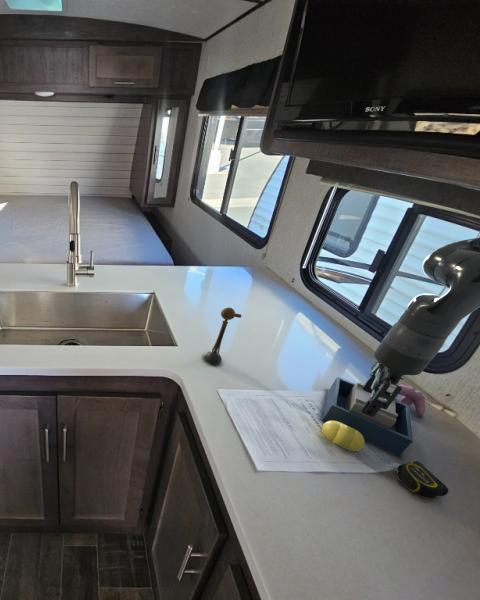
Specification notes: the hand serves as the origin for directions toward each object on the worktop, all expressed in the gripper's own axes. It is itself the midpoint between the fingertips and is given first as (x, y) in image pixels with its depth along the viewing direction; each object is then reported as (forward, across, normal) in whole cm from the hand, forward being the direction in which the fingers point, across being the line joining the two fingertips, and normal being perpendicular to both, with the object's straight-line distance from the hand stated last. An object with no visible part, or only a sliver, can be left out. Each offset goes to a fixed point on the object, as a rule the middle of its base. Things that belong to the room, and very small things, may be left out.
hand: (367, 402), depth 71 cm
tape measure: (+15, -1, -14) cm, 21 cm away
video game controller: (+14, +26, -12) cm, 32 cm away
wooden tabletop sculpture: (+15, +9, +34) cm, 38 cm away
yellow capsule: (+14, 0, 0) cm, 14 cm away
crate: (+14, +12, -4) cm, 19 cm away
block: (+14, +12, -4) cm, 19 cm away
